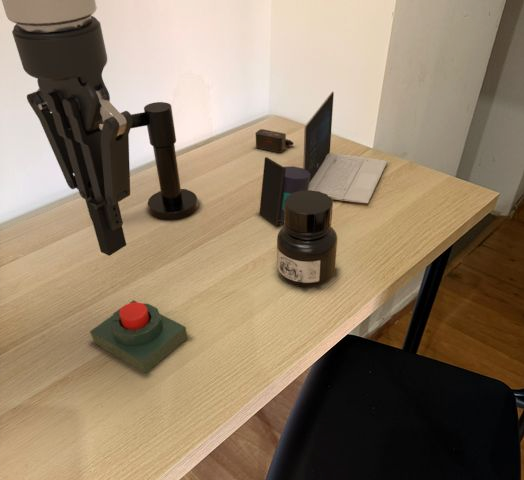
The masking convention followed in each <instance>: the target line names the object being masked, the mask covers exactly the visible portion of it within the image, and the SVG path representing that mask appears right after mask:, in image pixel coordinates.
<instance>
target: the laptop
mask: <svg viewBox="0 0 524 480" xmlns="http://www.w3.org/2000/svg"><path fill="white" fill-rule="evenodd" d="M334 93H335V92H334V90H333V91H331V92H330V94H329V95H328V96H327V98H326V99H325V100H324V101H323V103H321V105H320V106H319V108H317V110H316V111H315V112H314V113H313V115H312V116H311V118H310V119H309V120H308V121H307V123H305V125H304V130H303V131H304V133H303V135H304V136H303V137H304V138H303V165H302V168H303V169H305V170H307V171H308V172H309V173H310V174H311V176H310V182H309V188H308V190H312V191H319V192H322V193H324V194H327V195H328V196H329V197H330V198H332V200H336V201H343V202H351V203H359V204H360V203H361V204H369V202H370V200H371V197H372V195H373V193H374V191H375V189H376V187H377V185H378V183H379V181H380V178H381V177H382V174H383V172H384V171H385V168H386V166H387V163H388V160H386V159H379V158H372V157H364V156H359V155H358V156H357V155H349V154H343V153H334V152H331V142H332V125H333V110H334V109H333V108H334V97H335V95H334Z"/></svg>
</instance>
